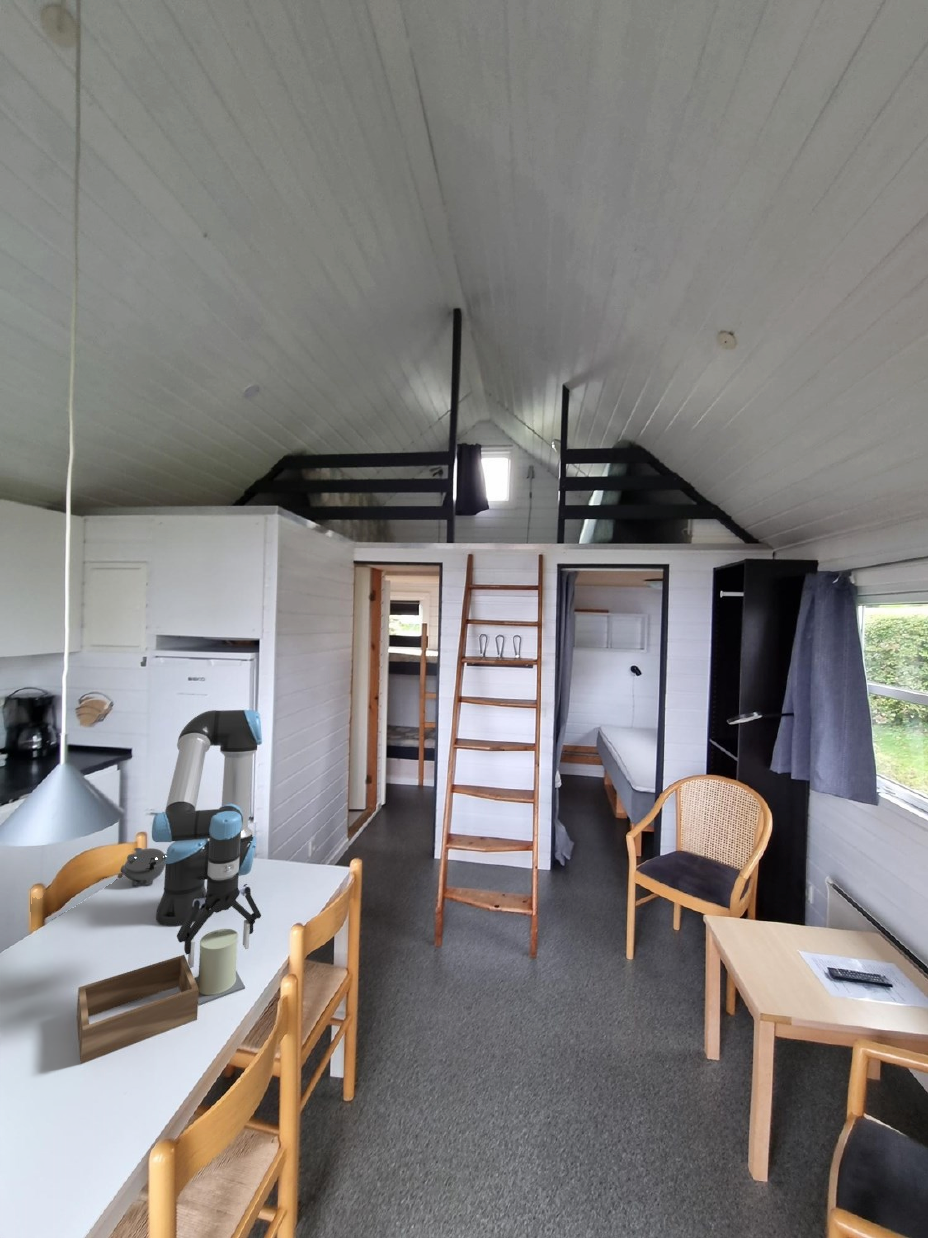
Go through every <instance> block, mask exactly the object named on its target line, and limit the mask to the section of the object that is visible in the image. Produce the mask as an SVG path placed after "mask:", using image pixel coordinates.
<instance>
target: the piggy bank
mask: <svg viewBox="0 0 928 1238" xmlns="http://www.w3.org/2000/svg"><path fill="white" fill-rule="evenodd" d="M134 851H135V852H134V853H131V854H129V855H127V857H126V861H125V863H124V864H122V866H121V867H120V873H122V874H123V875H124V877H125V878H127V879H128V880H130V881H132V884H131V885H132V887H137V886H138V885H139V884H140V883H141V882H142V883H143V882H145V885H146V886H147V887H148V886H149V887H150V886H152V885H153V884H154V880H155V879H157V878H158V877H160V876H161V874H162V873H163V871H165V865H166V863H165V859H166V853H164V852H163V851H162V850H161V849H158V848H142V847H134Z"/></svg>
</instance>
